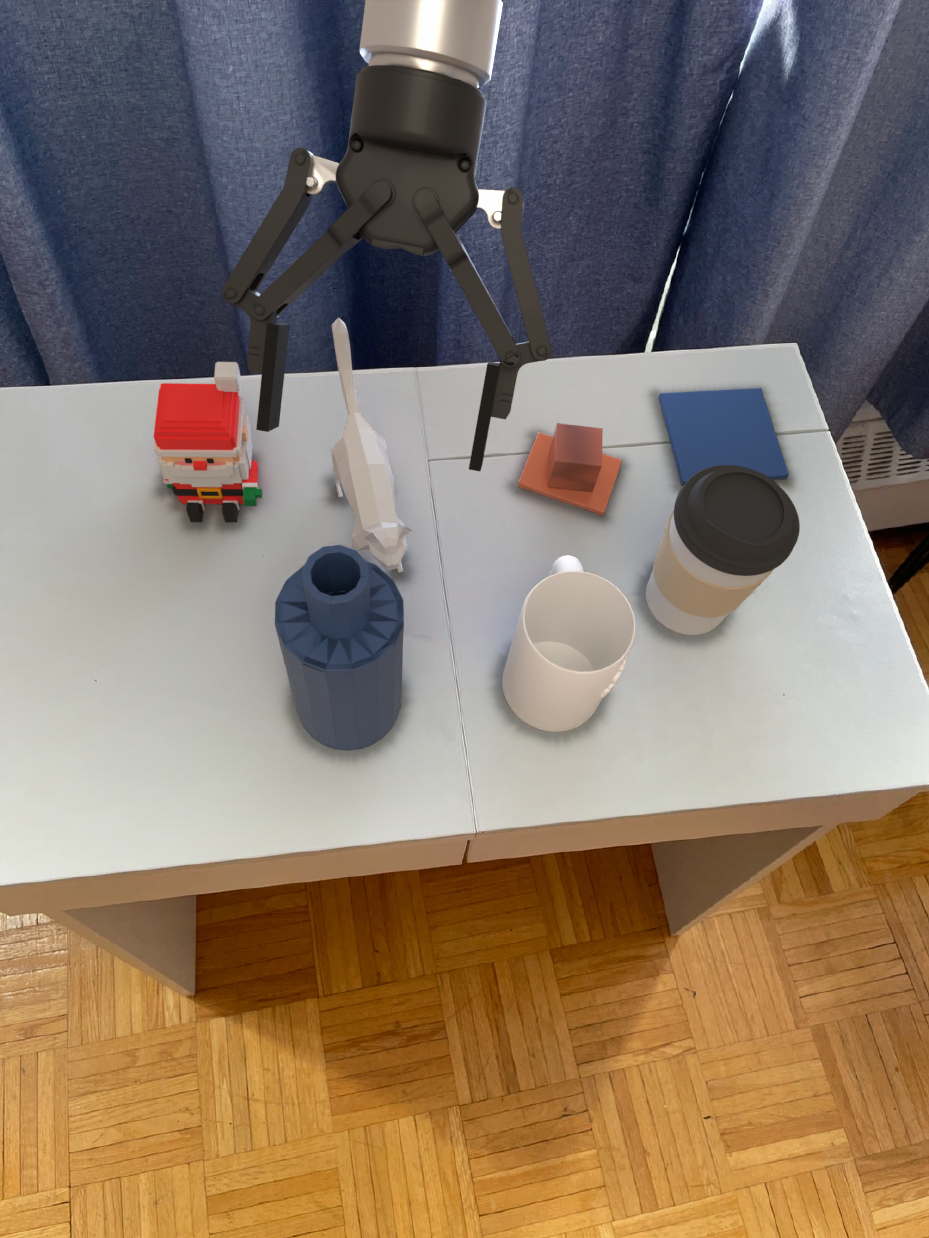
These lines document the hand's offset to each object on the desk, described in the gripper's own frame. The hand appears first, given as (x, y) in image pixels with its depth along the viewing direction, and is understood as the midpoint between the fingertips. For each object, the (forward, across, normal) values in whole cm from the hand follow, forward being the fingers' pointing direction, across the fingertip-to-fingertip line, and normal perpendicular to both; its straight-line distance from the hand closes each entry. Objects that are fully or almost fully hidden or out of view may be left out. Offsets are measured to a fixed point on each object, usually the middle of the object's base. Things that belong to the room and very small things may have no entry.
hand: (371, 448), depth 60 cm
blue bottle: (+21, 0, -6) cm, 22 cm away
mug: (+16, -16, -11) cm, 25 cm away
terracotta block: (+3, -15, -24) cm, 28 cm away
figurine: (+9, +15, -18) cm, 26 cm away
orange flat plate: (+3, -15, -24) cm, 28 cm away
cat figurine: (+9, +2, -18) cm, 21 cm away
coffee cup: (+11, -26, -17) cm, 33 cm away
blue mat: (-2, -28, -29) cm, 40 cm away
